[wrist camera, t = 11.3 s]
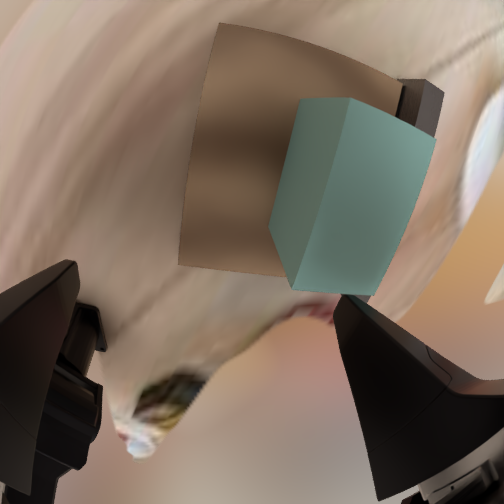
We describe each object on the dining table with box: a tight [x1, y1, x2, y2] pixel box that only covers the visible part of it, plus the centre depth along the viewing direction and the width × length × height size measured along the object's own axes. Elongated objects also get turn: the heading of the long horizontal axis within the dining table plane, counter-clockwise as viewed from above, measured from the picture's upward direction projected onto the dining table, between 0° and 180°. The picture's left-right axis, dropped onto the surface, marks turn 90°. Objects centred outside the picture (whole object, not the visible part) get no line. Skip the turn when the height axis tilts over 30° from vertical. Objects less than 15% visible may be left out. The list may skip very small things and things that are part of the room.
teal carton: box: [268, 97, 436, 296], centre depth 14 cm, size 5×9×7 cm, turn 168°
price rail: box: [341, 79, 444, 303], centre depth 18 cm, size 18×2×4 cm, turn 168°
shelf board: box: [178, 23, 402, 277], centre depth 17 cm, size 17×13×1 cm
